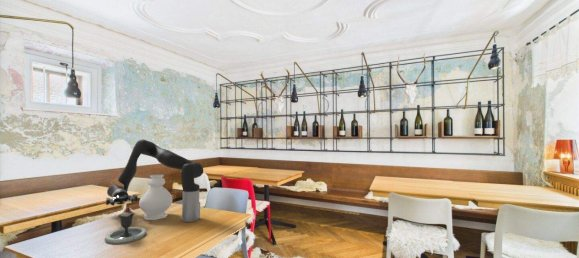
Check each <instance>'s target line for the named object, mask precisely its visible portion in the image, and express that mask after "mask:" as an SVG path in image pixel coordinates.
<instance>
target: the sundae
mask: <svg viewBox="0 0 579 258" xmlns="http://www.w3.org/2000/svg"><path fill="white" fill-rule="evenodd" d="M134 215H135V212H133V211H132V209H131V208H130V207H129V205H127V206H126V208H125V209H124V210H123V211H122V213H119V215H118V217H119V218H120V225H121V228H122V229H123V228H125V233H124V234H122V235H121V236H120V237H129V236H131V235H132V233H128V228H129V227H132V223H133V218H134Z"/></svg>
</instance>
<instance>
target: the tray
mask: <svg viewBox="0 0 579 258" xmlns="http://www.w3.org/2000/svg"><path fill="white" fill-rule="evenodd" d="M124 233H125V228H123V227H122V228H119V229H115V230H113V231H109V233H108V234H106V235H105V238H104V242H105V243H106V244H107V245H121V244H128V243H132V242H136V241H139V240H141V239H143V238H144V237H146V236H147V230H146V228H145V227H142V226H130V227H129V228H128V233H132V235H131V236H129V237H120V236H121V235H122V234H124Z"/></svg>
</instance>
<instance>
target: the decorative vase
mask: <svg viewBox="0 0 579 258" xmlns="http://www.w3.org/2000/svg"><path fill="white" fill-rule="evenodd" d="M164 177H165V175H164V174H162V173H161V174H160V173H158V174H150V175H149V178H150V179H149V180H147V181H148V182H147V184H148V186H150V187H149V188H148V189H147V190H145V192H144V193H143V194H142V195H141V197H140V199H139V201H138V206H139V208H140V209H141V211H142V212H143V213H144V214H145V215H144V216H143V219H144V220H145V221H157V220H162V219H164V218H167V216H168V213H167V211H168V209H169V208H170V207H171V206H172V204H173V196H172V195H171V193H170V192H169V190H168V189H167V188H165V187H164V185H165V183H166V179H165V178H164Z"/></svg>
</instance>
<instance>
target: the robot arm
mask: <svg viewBox="0 0 579 258" xmlns="http://www.w3.org/2000/svg"><path fill="white" fill-rule="evenodd" d="M141 155H145V156H149V157H152V158H155V159H156V160H157V162H158V163H160V164H162V166H165V167H167V168H169V169H176V170H180V173H181V174H180V175H181V176H180V177H181V180H180V181H181V183H180V184H181V188H182V209H181V210H182V211H181V213H182V215H181V221H182V222H183V223H192V222H193V223H194V222H196V221H199V219H200V217H201V201H200V184H199V183H196V182H195V179H197V178H200V177H202V175H203V174H204V167H203V166H202V164H200V163H199V162H197V161H193V160H191V159H187V158H185V157H183V156H181V155H180V154H177V153H175V152H173V151H171V150H169V149H165V148H162V147H160V146H158V145H157V144H155V143H154V142H153V141H149V140H146V139H143V138H142V139H138V140H137V142H136V143H135V144H134V147H133V148H132V151H131V154H130V155H129V158H128V161H127V163H126V165H125V167H124V169H123V171H122V172H121V173H120V175H119V177H118V179H117V181H118V182H119V183H120V184H122V185H123V186H121V185H119V184H111V185H110V186H108V188H107V192H106V193H107V195H108V197H106V200H105V205H106V206H109V205H110V206H115V205H124V204H127V203H132V204H133V203H135V202H137V201H138V195H137V194H133V195H129V193H128V191H129V187H130V184H131V182H132V181H133V178H134V177H135V175H136V174H137V167H138V166H137V165H138V159H139V157H140V156H141Z"/></svg>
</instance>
